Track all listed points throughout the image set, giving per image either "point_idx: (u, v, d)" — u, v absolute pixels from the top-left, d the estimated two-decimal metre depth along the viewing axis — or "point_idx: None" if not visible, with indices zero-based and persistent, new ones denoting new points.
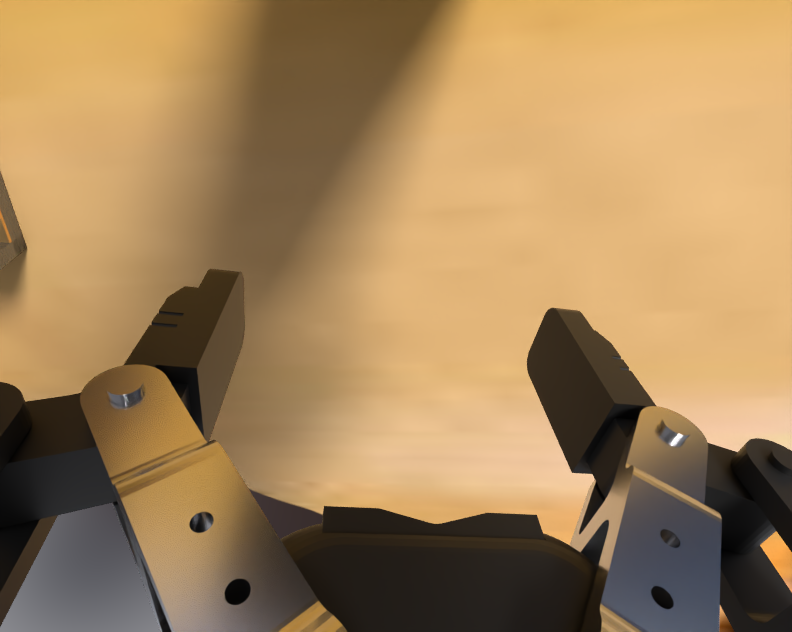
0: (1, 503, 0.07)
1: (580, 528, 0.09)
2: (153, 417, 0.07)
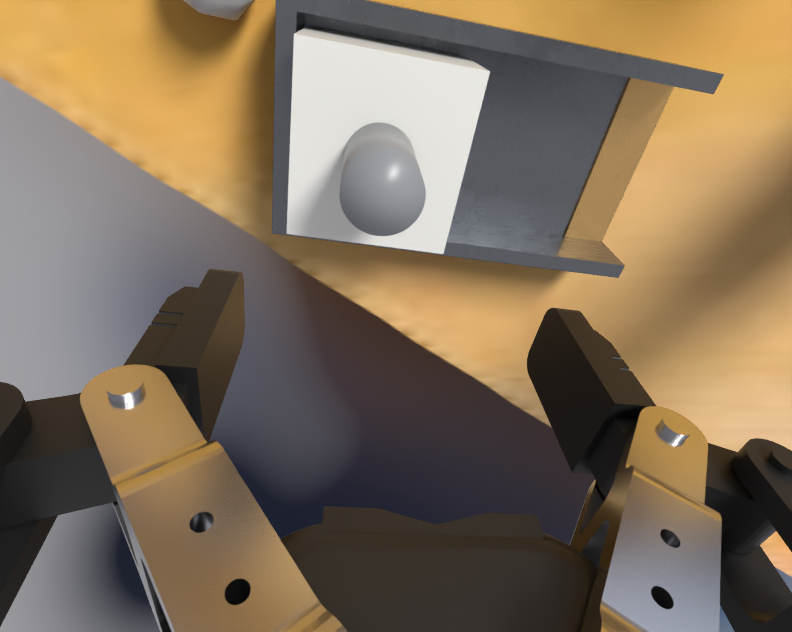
0: (1, 503, 0.07)
1: (580, 528, 0.09)
2: (153, 417, 0.07)
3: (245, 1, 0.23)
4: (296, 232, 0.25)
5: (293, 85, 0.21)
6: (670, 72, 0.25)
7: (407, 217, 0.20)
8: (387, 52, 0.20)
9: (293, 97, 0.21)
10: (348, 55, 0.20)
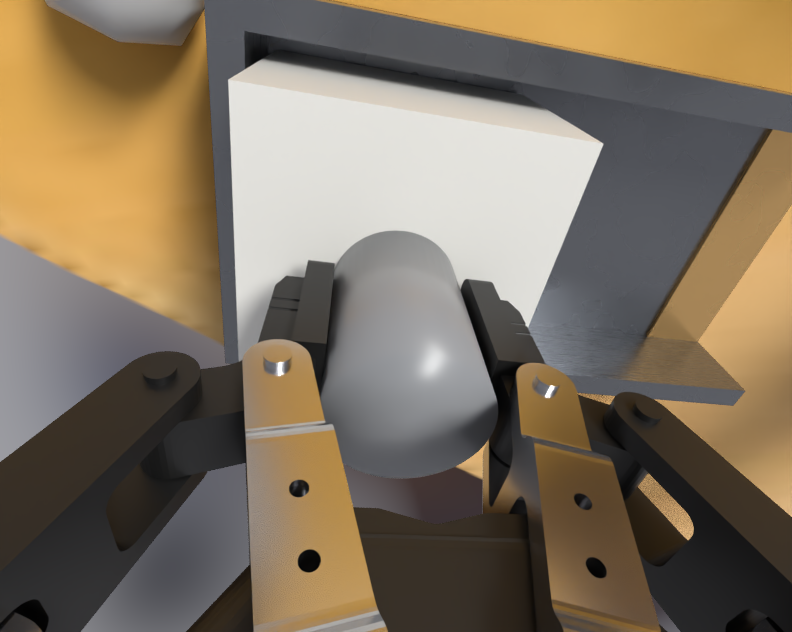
0: (162, 458, 0.08)
1: (489, 499, 0.09)
2: (307, 382, 0.08)
3: (183, 10, 0.13)
4: None
5: (234, 172, 0.11)
6: None
7: (457, 451, 0.10)
8: (412, 112, 0.11)
9: (235, 192, 0.11)
10: (335, 119, 0.11)
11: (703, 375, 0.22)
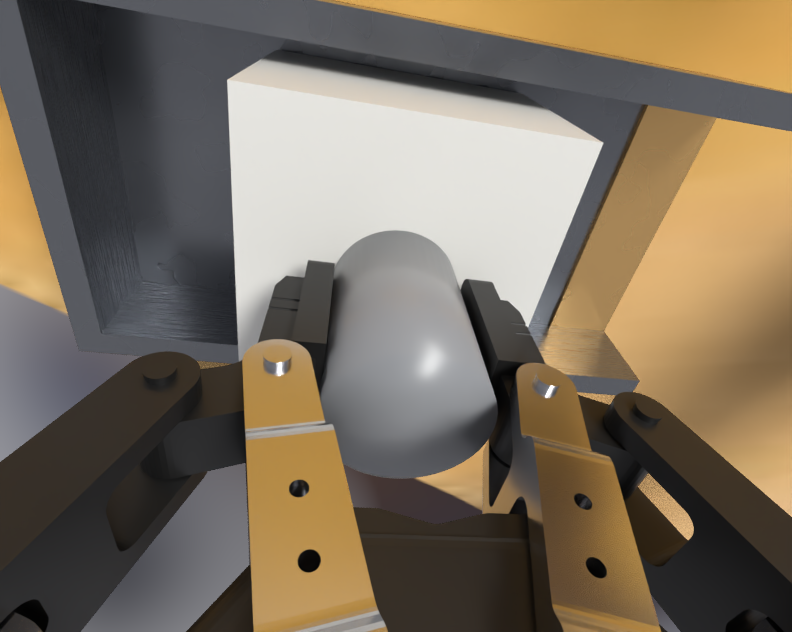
0: (162, 458, 0.08)
1: (489, 499, 0.09)
2: (307, 382, 0.08)
3: None
4: None
5: (233, 172, 0.11)
6: (725, 96, 0.14)
7: (456, 451, 0.10)
8: (411, 111, 0.11)
9: (235, 192, 0.11)
10: (335, 118, 0.11)
11: (598, 365, 0.21)
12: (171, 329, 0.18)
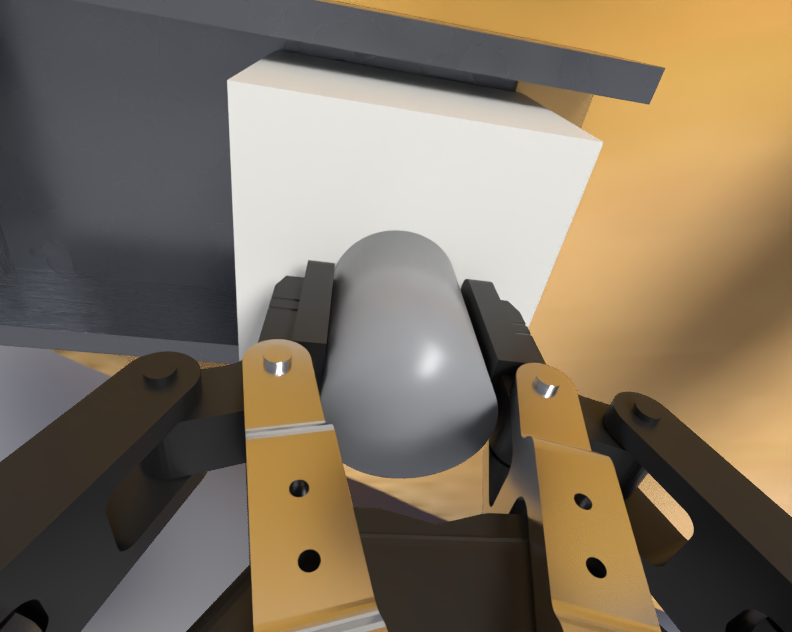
0: (162, 458, 0.08)
1: (489, 499, 0.09)
2: (307, 382, 0.08)
3: None
4: None
5: (234, 172, 0.11)
6: (564, 65, 0.13)
7: (457, 451, 0.10)
8: (411, 111, 0.11)
9: (235, 193, 0.11)
10: (335, 118, 0.11)
11: None
12: (28, 316, 0.18)
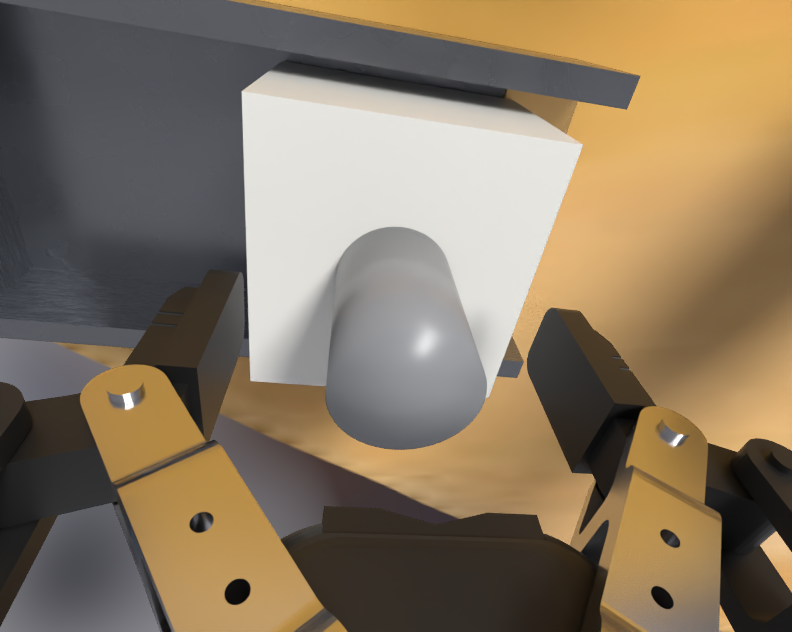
0: (1, 503, 0.07)
1: (580, 528, 0.09)
2: (153, 417, 0.07)
3: None
4: (265, 378, 0.16)
5: (246, 174, 0.12)
6: (547, 74, 0.14)
7: (451, 423, 0.11)
8: (408, 118, 0.12)
9: (248, 193, 0.13)
10: (339, 125, 0.12)
11: None
12: (47, 312, 0.19)
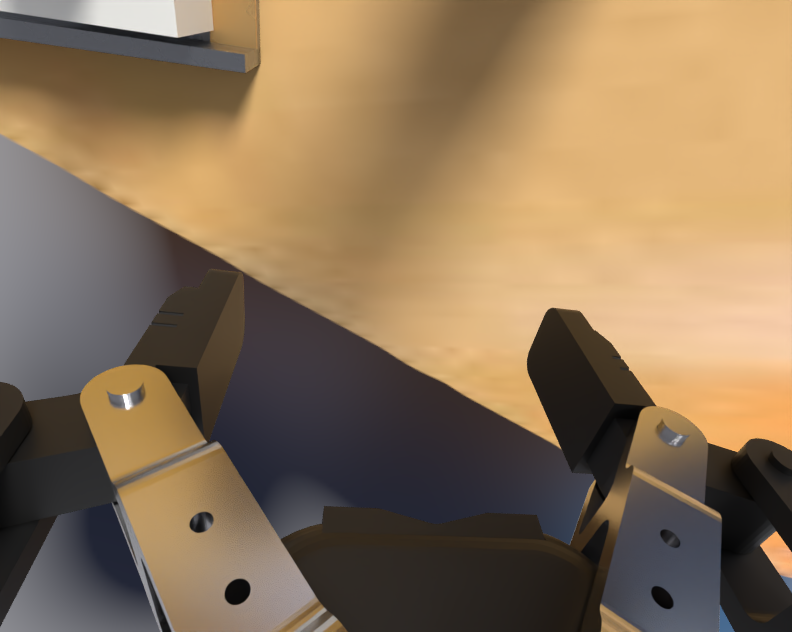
0: (1, 503, 0.07)
1: (580, 528, 0.09)
2: (153, 417, 0.07)
3: None
4: (0, 7, 0.23)
5: None
6: None
7: None
8: None
9: None
10: None
11: (220, 48, 0.28)
12: None
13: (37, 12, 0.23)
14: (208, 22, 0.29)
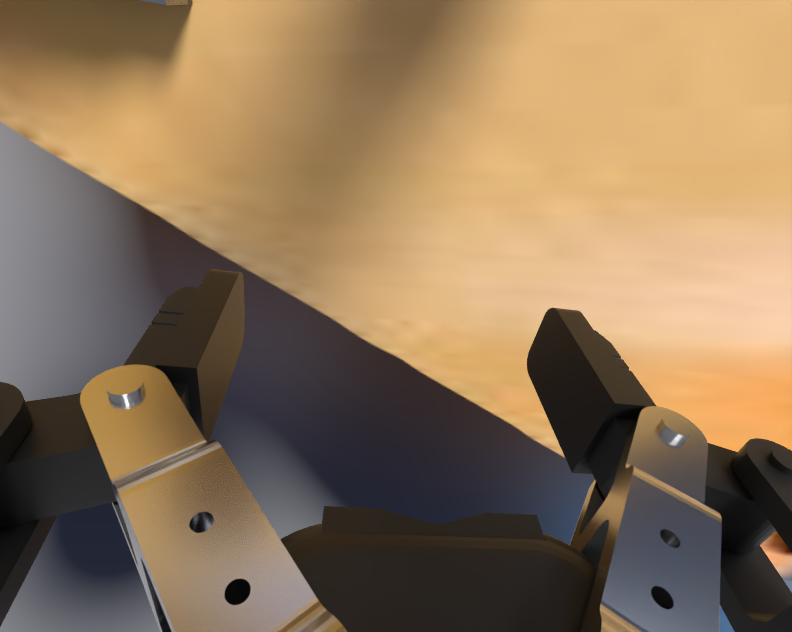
0: (1, 503, 0.07)
1: (580, 528, 0.09)
2: (153, 417, 0.07)
3: None
4: None
5: None
6: None
7: None
8: None
9: None
10: None
11: None
12: None
13: None
14: None
